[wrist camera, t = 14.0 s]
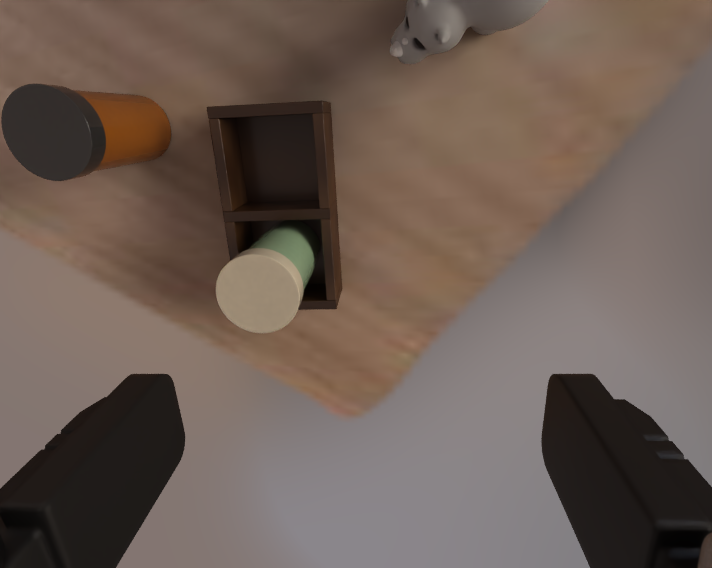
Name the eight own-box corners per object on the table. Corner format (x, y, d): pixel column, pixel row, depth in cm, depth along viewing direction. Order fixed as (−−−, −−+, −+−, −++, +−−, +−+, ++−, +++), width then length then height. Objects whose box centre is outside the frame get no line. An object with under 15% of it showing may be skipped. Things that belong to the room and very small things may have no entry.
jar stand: (228, 107, 36) (206, 106, 32) (330, 102, 35) (322, 100, 31) (253, 290, 42) (237, 310, 37) (342, 288, 41) (336, 309, 37)
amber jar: (100, 94, 36) (-13, 86, 26) (166, 90, 36) (77, 80, 26) (117, 164, 38) (18, 182, 28) (179, 161, 38) (101, 179, 28)
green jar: (256, 218, 39) (208, 255, 28) (320, 216, 38) (295, 253, 28) (264, 278, 41) (222, 334, 30) (325, 277, 40) (303, 333, 30)
